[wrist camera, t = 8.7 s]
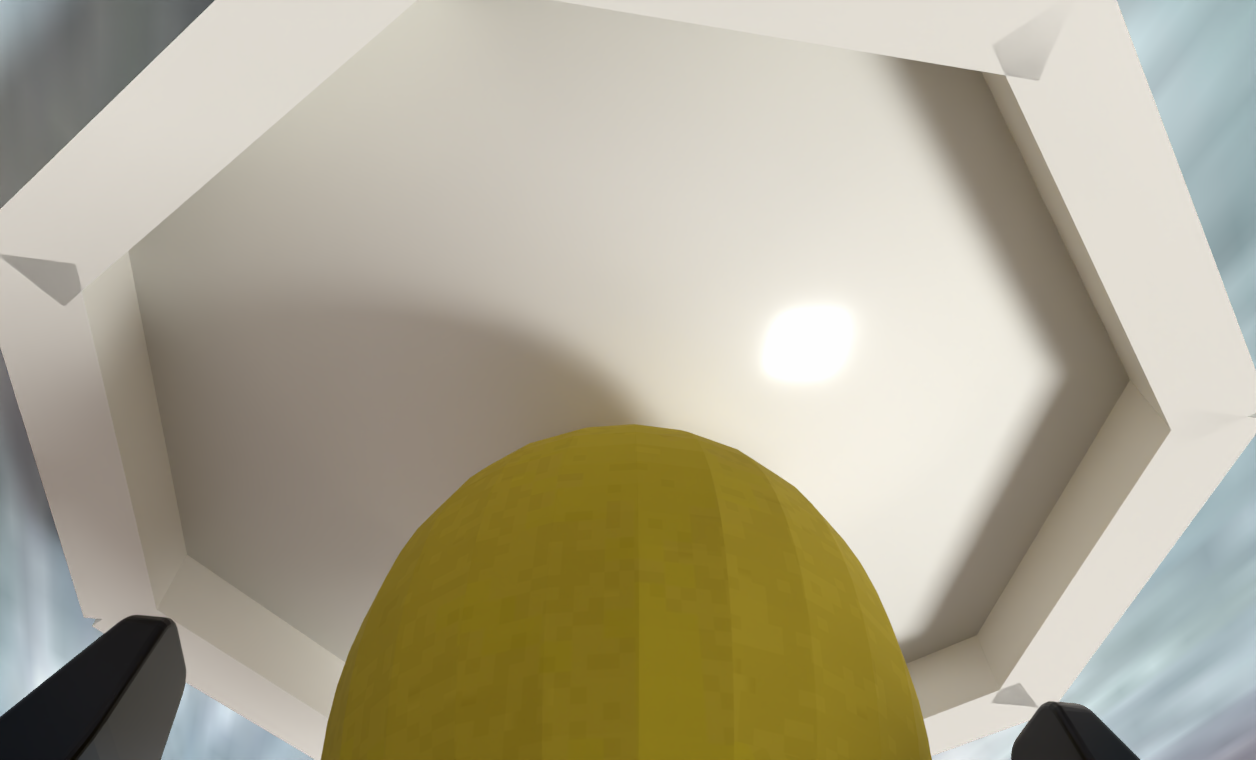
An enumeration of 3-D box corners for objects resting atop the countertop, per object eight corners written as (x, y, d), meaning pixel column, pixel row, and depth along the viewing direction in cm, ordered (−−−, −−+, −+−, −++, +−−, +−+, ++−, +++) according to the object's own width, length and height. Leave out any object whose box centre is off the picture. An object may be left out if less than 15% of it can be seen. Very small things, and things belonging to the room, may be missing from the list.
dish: (1393, -4, 9) (1544, 40, 8) (922, 754, 17) (951, 847, 16) (-37, -265, 8) (-191, -273, 6) (181, 688, 16) (136, 784, 14)
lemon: (889, 536, 12) (1181, 1405, 6) (550, 648, 14) (476, 1443, 7) (739, 214, 10) (979, 1194, 3) (332, 398, 11) (-114, 1332, 4)
